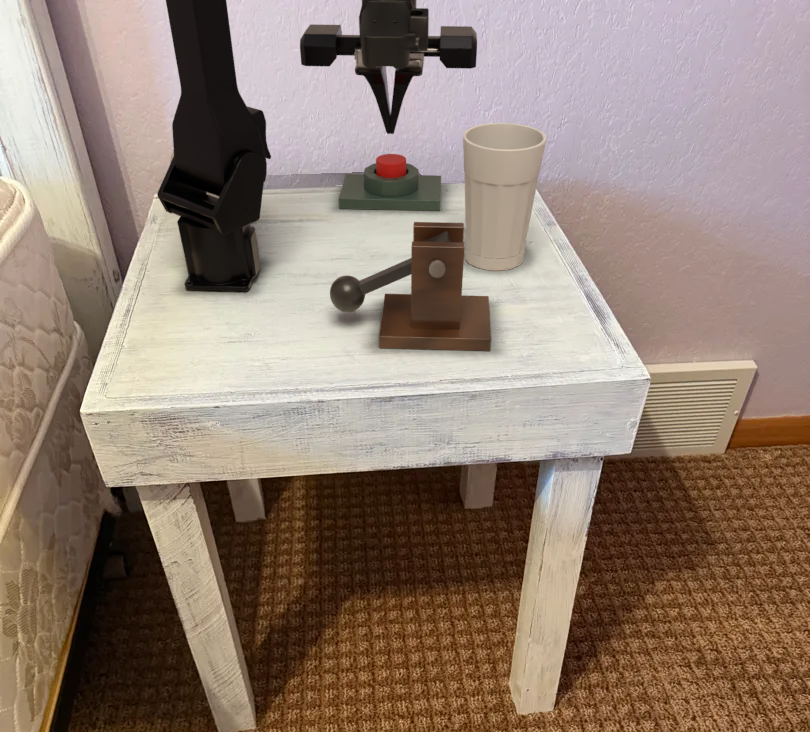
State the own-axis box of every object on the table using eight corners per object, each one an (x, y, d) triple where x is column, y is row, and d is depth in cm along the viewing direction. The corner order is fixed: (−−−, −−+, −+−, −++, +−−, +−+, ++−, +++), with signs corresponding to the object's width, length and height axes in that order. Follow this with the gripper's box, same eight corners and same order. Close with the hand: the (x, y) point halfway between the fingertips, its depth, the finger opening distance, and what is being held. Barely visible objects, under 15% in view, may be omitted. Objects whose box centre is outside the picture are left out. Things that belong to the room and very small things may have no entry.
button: (375, 179, 90) (374, 164, 89) (377, 168, 93) (377, 153, 91) (405, 180, 90) (405, 164, 89) (406, 169, 93) (406, 153, 91)
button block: (339, 208, 91) (337, 182, 89) (346, 183, 96) (344, 158, 94) (439, 210, 90) (440, 184, 88) (440, 185, 96) (441, 160, 94)
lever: (338, 323, 70) (321, 294, 68) (342, 306, 72) (325, 277, 70) (459, 272, 66) (444, 239, 64) (459, 256, 68) (445, 223, 66)
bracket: (379, 348, 69) (376, 253, 62) (385, 304, 74) (383, 213, 68) (490, 351, 68) (498, 256, 62) (487, 307, 74) (495, 216, 68)
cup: (528, 277, 78) (543, 153, 70) (451, 270, 79) (457, 147, 71) (534, 244, 84) (549, 125, 75) (462, 238, 85) (469, 120, 76)
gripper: (284, -21, 72) (300, 155, 83) (483, -19, 71) (472, 159, 82) (301, -41, 80) (313, 123, 91) (480, -39, 79) (470, 125, 90)
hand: (390, 132), depth 88 cm, fingers closed
